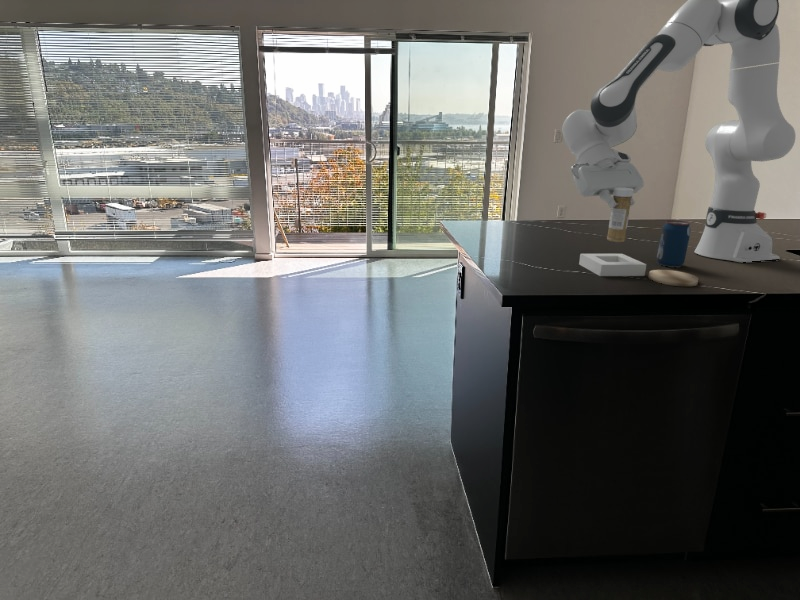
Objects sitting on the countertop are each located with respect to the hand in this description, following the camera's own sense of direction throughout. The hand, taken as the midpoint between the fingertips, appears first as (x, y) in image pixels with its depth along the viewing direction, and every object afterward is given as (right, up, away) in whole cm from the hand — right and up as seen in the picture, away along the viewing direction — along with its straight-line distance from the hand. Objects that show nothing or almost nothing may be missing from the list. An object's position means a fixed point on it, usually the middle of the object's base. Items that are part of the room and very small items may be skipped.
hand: (623, 205), depth 128 cm
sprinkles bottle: (0, -9, +4) cm, 9 cm away
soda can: (+19, -14, +13) cm, 27 cm away
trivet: (+11, -19, -2) cm, 22 cm away
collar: (-1, -16, +6) cm, 17 cm away
